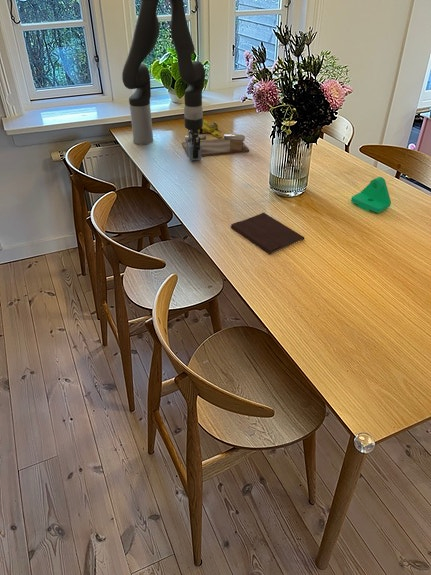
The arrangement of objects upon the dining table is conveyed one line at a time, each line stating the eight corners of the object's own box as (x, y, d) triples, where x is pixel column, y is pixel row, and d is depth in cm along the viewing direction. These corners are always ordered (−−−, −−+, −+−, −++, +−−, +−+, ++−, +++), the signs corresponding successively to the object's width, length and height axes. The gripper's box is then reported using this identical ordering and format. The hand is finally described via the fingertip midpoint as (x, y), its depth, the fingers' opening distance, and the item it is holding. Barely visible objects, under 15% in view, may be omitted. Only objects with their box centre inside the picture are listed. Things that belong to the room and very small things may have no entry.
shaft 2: (225, 138, 203) (225, 133, 202) (244, 140, 202) (244, 134, 200) (224, 140, 201) (224, 135, 200) (243, 142, 200) (244, 136, 199)
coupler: (187, 156, 196) (187, 142, 192) (198, 155, 197) (198, 141, 193) (189, 160, 192) (189, 146, 188) (201, 159, 193) (201, 145, 189)
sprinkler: (183, 121, 221) (208, 115, 227) (183, 129, 224) (208, 122, 230) (204, 138, 210) (230, 131, 216) (204, 146, 213) (229, 139, 219)
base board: (181, 144, 209) (181, 131, 205) (239, 139, 214) (239, 126, 211) (188, 157, 197) (188, 144, 193) (249, 151, 202) (249, 138, 199)
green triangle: (349, 203, 165) (354, 177, 158) (361, 197, 169) (367, 171, 162) (377, 215, 158) (384, 189, 151) (389, 209, 162) (396, 182, 155)
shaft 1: (185, 140, 201) (185, 135, 200) (204, 138, 203) (204, 133, 202) (186, 142, 200) (186, 137, 198) (205, 140, 201) (205, 135, 200)
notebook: (264, 216, 158) (264, 211, 157) (304, 240, 146) (304, 235, 144) (230, 229, 151) (230, 224, 150) (269, 256, 139) (270, 250, 137)
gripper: (181, 110, 188) (182, 150, 198) (188, 122, 177) (189, 163, 188) (198, 109, 189) (199, 148, 200) (206, 121, 178) (206, 161, 189)
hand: (194, 155), depth 194 cm, fingers closed on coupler, 5 cm apart
